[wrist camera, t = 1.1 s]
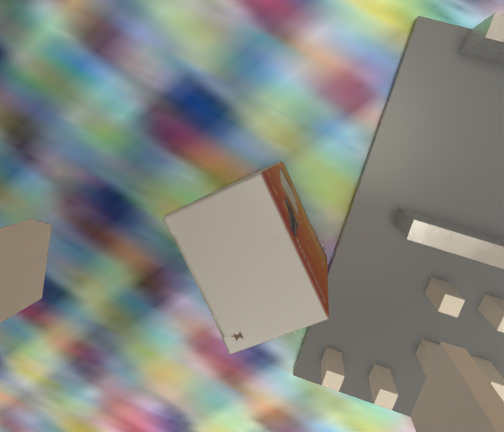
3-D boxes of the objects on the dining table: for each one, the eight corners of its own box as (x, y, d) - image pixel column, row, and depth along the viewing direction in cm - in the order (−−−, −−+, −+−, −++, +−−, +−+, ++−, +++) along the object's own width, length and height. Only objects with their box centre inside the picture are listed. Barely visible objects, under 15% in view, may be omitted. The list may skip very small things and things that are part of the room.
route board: (293, 367, 31) (290, 400, 27) (414, 20, 25) (432, -1, 21) (486, 435, 29) (511, 480, 26) (663, 83, 23) (732, 72, 20)
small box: (328, 258, 29) (333, 323, 19) (259, 285, 30) (229, 360, 20) (283, 158, 28) (263, 169, 18) (214, 190, 29) (159, 217, 19)
